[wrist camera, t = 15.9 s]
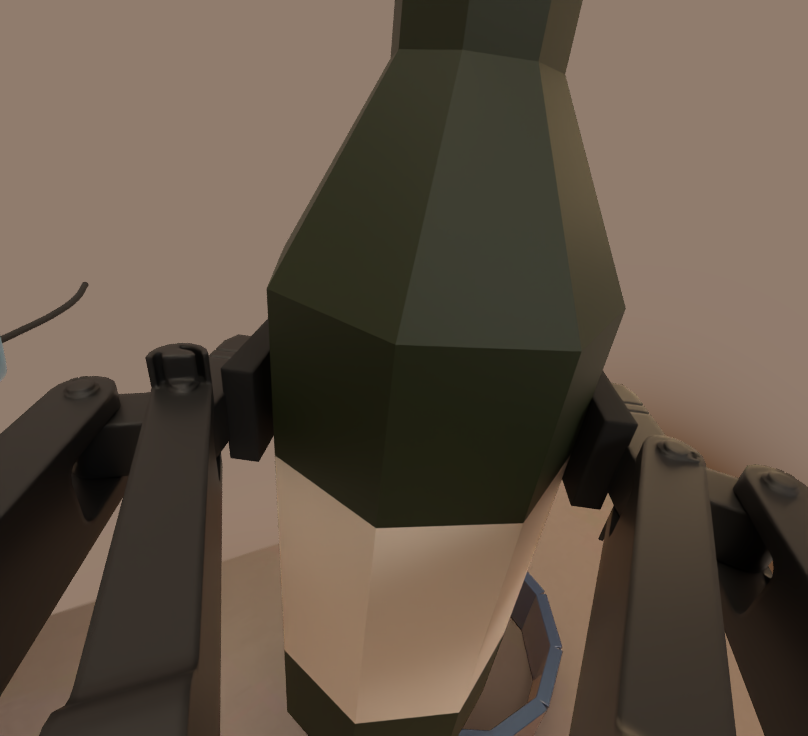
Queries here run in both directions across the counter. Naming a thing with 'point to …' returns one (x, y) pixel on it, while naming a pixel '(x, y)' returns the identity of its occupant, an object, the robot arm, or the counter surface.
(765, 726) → the robot arm
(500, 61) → the wine bottle
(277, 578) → the counter surface
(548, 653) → the segmented polygonal ring
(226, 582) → the counter surface
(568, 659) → the counter surface
